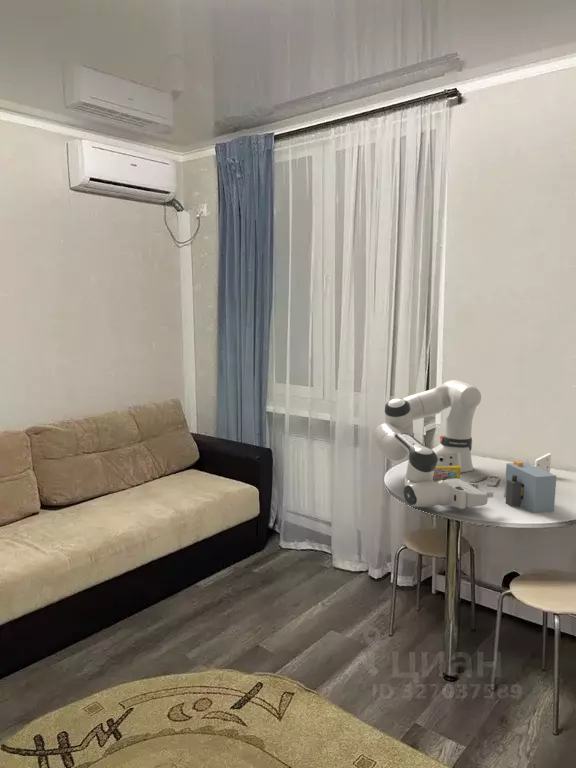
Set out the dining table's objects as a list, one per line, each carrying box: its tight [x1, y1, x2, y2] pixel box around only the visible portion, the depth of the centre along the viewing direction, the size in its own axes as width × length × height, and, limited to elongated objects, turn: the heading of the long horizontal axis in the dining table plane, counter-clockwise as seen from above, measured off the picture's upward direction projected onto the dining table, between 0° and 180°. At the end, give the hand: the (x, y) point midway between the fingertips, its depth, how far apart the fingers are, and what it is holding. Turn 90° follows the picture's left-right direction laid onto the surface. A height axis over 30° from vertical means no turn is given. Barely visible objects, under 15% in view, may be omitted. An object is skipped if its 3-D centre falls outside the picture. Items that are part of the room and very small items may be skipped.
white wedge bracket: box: [534, 452, 552, 473], centre depth 253 cm, size 4×10×9 cm, turn 84°
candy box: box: [433, 466, 462, 482], centre depth 236 cm, size 16×2×8 cm, turn 95°
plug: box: [505, 475, 524, 508], centre depth 215 cm, size 8×4×11 cm, turn 103°
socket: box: [504, 460, 557, 514], centre depth 216 cm, size 8×18×14 cm, turn 13°
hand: (484, 490), depth 211 cm, fingers open, 8 cm apart
